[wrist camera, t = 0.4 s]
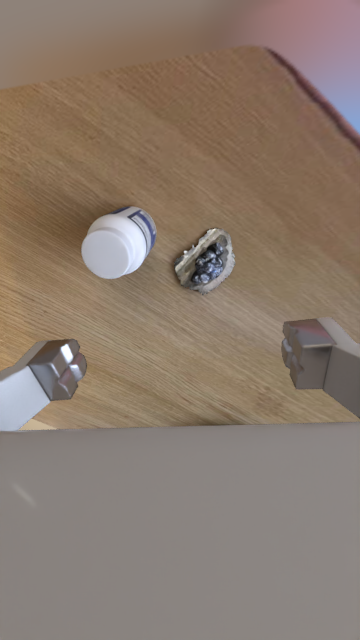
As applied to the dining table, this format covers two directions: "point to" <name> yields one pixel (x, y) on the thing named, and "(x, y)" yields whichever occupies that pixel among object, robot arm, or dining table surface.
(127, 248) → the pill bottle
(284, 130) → the dining table surface
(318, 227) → the dining table surface
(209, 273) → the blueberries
